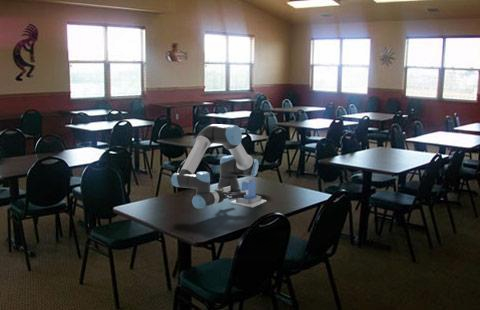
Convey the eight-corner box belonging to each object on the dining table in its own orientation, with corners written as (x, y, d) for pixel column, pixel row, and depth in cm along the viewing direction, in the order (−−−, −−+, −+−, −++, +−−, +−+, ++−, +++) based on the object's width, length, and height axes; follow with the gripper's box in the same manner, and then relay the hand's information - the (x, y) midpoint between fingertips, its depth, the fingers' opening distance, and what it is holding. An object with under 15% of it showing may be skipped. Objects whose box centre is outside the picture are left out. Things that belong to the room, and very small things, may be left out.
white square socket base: (244, 197, 315) (244, 192, 314) (266, 201, 306) (266, 196, 306) (230, 203, 302) (230, 197, 301) (252, 207, 293) (252, 201, 292)
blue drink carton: (248, 199, 308) (249, 178, 306) (255, 200, 305) (255, 179, 303) (241, 201, 303) (241, 180, 300) (248, 202, 300) (248, 181, 297)
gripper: (198, 199, 287) (222, 192, 303) (231, 207, 271) (255, 199, 288) (198, 187, 286) (222, 181, 302) (232, 194, 270) (255, 187, 286)
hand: (238, 190), depth 295 cm, fingers open, 13 cm apart
